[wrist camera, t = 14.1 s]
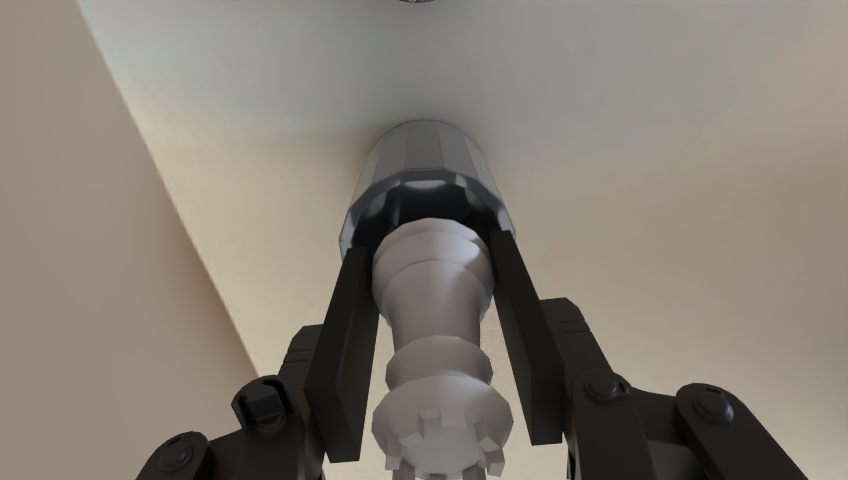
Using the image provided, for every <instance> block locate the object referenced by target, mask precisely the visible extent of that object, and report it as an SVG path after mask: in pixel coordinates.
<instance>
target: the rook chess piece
mask: <svg viewBox="0 0 848 480" xmlns="http://www.w3.org/2000/svg"><path fill="white" fill-rule="evenodd" d="M372 277H373V278H372V293H373V297H374V299H375V301H376V304H377V306H378V309H379V311H380V314H381V315H382V316H383V317H384V318H385V319H386V321H387V324H388V325H389V326H390V327H391V328H392V335H393V342H394V350H395V354H394V356H393V357H392V359H391V360H390V361H389V363H388V364H387V369H386V379H385V381H386V383H387V385H388V388H389V390H390V392H389V393H388V394H386V396H385V397H384V398H383V400H382V401H381V402H380V404H379V405H378V406H377V408H376V409H375V411H374V412H373V420H372V433H373V435H374V437H375V439H376V441H377V443H378V445H379V447H380V449H381V450H382V451H383V452H384V453H385V455H386V465H385V470H393V479H392V480H415V477H417V478H420V479H423V480H457V479H462V478H463V480H486V475H485V468H486V467H487V473H488V475H492V476H498V477H500V476H501V473H502V470H503V467H504V464H505V460H504V455H503V450H502V448H503V447H504V445H505V443H506V442H507V440H508V438H509V435H510V432H511V429H512V426H513V422H514V421H513V417H512V413H511V410H510V406H509V403H508V402H507V401H506V400H505V399H504V398H503V397H502V396H501V395H500V394H499V393H498V392H497V391H496V390H495V389H494V388H493V387H492V386H490V383H491V379H492V376H493V371H492V367H491V363H490V360H489V358H488V356H487V355H486V354H485V353H484V352H483V351H482V350H481V349H480V322H481V321H482V319H483V318H484V314H485V312H486V311H487V309H488V308H489V306H490V302H491V298H492V294H493V290H494V285H495V279H494V275H493V271H492V262H491V257H490V253H489V249H488V247H487V246H486V245H485V244H484V242H483V241H482V240H481V239H480V237H479V236H478V235H477V234H476V233H475V231H473V230H471V229H469V228H467V227H465V226H463V225H461V224H459V223H457V222H455V221H453V220H445V219H435V218H425V219H421V220H417V221H413V222H410V223H406V224H403V225H402V226H400V227H399V228H397V229H396V230H395V231H393V232H392V233H391V234H389V235H388V236H386V237H385V238H384V239H383V241H382V243H381V245H380V246H379V248H378V250H377V251H376V253H375V255H374V257H373V268H372Z"/></svg>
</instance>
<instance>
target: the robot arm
mask: <svg viewBox="0 0 848 480" xmlns="http://www.w3.org/2000/svg"><path fill="white" fill-rule="evenodd" d="M489 239H490V256H491V262H492V271H493V275H494V279H495V285H494V290H493V296H494V300H495V304H496V308H497V312H498V316H499V320H500V324H501V328H502V331H503V335H504V339H505V343H506V347H507V351H508V355H509V359H510V363H511V367H512V370H513V374H514V378H515V382H516V386H517V390H518V394H519V398H520V402H521V406H522V409H523V413H524V417H525V421H526V425H527V429H528V433H529V437H530V441H531V445H532V446H535V445H546V444H558V443H562V434H563V432H564V435H565V438H566V441H567V444H568V461H567V479H569V480H808V478H807V477H806V476H805V475H804V474H803V472H802V471H801V470H800V469H799V468H798V467H797V465H796V464H795V463H794V462H793V461H792V460H791V458H790V457H789V456H788V455H787V454H786V453H785V451H784V450H783V449H782V448H781V447H780V445H779V444H778V443H777V442H776V441H775V440H774V438H773V437H772V436H771V435H770V434H769V433H768V431H767V430H766V429H765V428H764V427H763V426H762V424H761V423H760V422H759V421H758V420H757V418H756V417H755V416H754V415H753V414H752V413H751V411H750V410H749V409H748V408H747V407H746V406H745V404H744V403H742V402H741V401H740V400H739V399H738V398H737V397H736V396H734V395H733V394H731V393H729V392H728V391H726V390H724V389H722V388H720V387H716V386H713V385H709V384H704V383H692V384H688V385H685V386H683V387H681V388H680V389H679V390H678V391H677V393H676V397H675V396H669V395H662V394H656V393H650V392H646V391H642V390H639V389H636V388H634V387H632V386H631V385H630V383H629V382H627V381H626V380H625V379H624V378H623V377H622V376H620V375H618V374H616V373H614V372H613V370H612V369H611V367H610V365H609V364H608V362H607V360H606V358H605V356H604V354H603V352H602V351H601V349H600V347H599V345H598V343H597V341H596V339H595V338H594V336H593V334H592V332H590V328H589V326H588V325H587V323H586V322H585V319H584V317H583V315H582V313H581V311H580V310H579V308H578V307H577V306H576V305H575V304H573V303H572V302H571V301H570V300H568V299H567V298H566V297H564V298H555V299H545V300H539V298H538V296H537V293H536V291H535V288H534V286H533V284H532V281H531V279H530V276H529V274H528V271H527V269H526V267H525V264H524V262H523V259H522V257H521V255H520V252H519V250H518V247H517V245H516V243H515V240H514V238H513V235H512V233H511V230H503V231H494V232H489ZM372 278H373V277H372V264H371V259H370V255H369V250H368V246H364V247H355V248H347V251H346V254H345V257H344V260H343V263H342V267H341V270H340V273H339V276H338V279H337V282H336V286H335V289H334V292H333V295H332V298H331V301H330V305H329V308H328V311H327V314H326V317H325V320H324V324H319V325H310V326H303V327H302V328H301V329H300V330H299V332H298V333H297V334H296V335H295V336H294V337H293V338H292V340H291V343H290V346H289V348H288V351H287V354H286V356H285V358H284V361H283V364H282V366H281V368H280V371H279V373H278V375H268V376H263V377H260V378H257V379H255V380H253V381H251V382H250V383H248V384H247V385H245V386H244V387H242V389H241V390H240V391H239V392H238V393H237V394H236V395H235V397H234V399H233V401H232V403H231V406H232V408H233V410H234V412H235V414H236V416H237V418H238V420H239V422H240V424H241V426H242V429H240V430H237V431H235V432H233V433H230V434H228V435H225V436H222V437H219V438H217V439H214V440H211V441H208V440H207V438H206V437H205V436H204V435H203V434H202V433H200V432H193V431H190V432H186V433H181V434H179V435H177V436H175V437H173V438H171V439H169V440H167V441H166V442H165V443H163V444H162V445H161V446H160V447H158V448H157V449H156V450H155V452H154V453H153V454H152V455H151V457H150V458H149V459H148V460H147V462H146V464H145V465H144V467H143V468H142V470H141V472H140V473H139V475H138V476H137V478H136V480H326V479H325V475H324V471H323V469H322V465H323V460H324V455H325V451H326V453H327V456H328V458H329V461H330V463H340V462H352V461H359V458H360V451H361V444H362V437H363V429H364V422H365V415H366V408H367V400H368V393H369V386H370V379H371V372H372V364H373V357H374V350H375V343H376V335H377V328H378V321H379V314H380V311H379V309H378V306H377V304H376V301H375V299H374V297H373V293H372Z"/></svg>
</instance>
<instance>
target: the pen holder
mask: <svg viewBox="0 0 848 480" xmlns="http://www.w3.org/2000/svg"><path fill="white" fill-rule="evenodd" d="M425 218H435V219H445V220H453V221H455V222H457V223H459V224H461V225H463V226H465V227H467V228H469V229H471V230H473V231H475V233H476V234H477V235H478V236H479V237H480V239H481V240H482V241H483V242H484V244H485V245H486V246H487V247H488V249H489V253H490V239H489V232H494V231H503V230H511V233H512V235H513V238H514V240H515V238H516V233H515V229H514V227H513V224H512V222H511V219H510V217H509V214H508V212H507V209H506V207H505V204H504V202H503V200H502V198H501V195H500V193H499V191H498V189H497V187H496V184H495V182H494V180H493V178H492V176H491V173H490V171H489V169H488V167H487V165H486V162H485V160H484V158H483V156H482V154H481V151H480V150H479V148H478V147H477V146H476V145H475V143H474V142H473V141H472V140H471V139H470V138H469V137H468V136H467V135H466V134H465V133H464V132H462V131H461V130H459V129H458V128H456V127H454V126H452V125H449V124H447V123H444V122H440V121H434V120H416V121H411V122H407V123H404V124H401V125H399V126H397V127H395V128H393V129H391V130H390V131H388V132H387V133H386V134H384V135H383V136H382V137H381V138H380V139H379V140H378V141H377V142H376V144H375V145H374V146H373V148H372V149H371V151H370V152H369V154H368V156H367V158H366V161H365V164H364V167H363V170H362V172H361V175H360V178H359V181H358V183H357V186H356V189H355V192H354V194H353V197H352V200H351V203H350V206H349V208H348V211H347V214H346V218H345V221H344V224H343V227H342V231H341V234H340V237H339V245H340V251H341V258H342V263H343V260H344V257H345V254H346V251H347V248H355V247H364V246H368V250H369V255H370V259H371V264H372V268H373V257H374V255H375V253H376V251H377V250H378V248H379V246H380V245H381V243H382V241H383V239H384V238H385V237H386V236H388V235H389V234H391V233H392V232H393V231H395V230H396V229H397V228H399V227H400V226H402V225H403V224H406V223H410V222H413V221H417V220H421V219H425ZM490 257H491V256H490ZM492 295H493V294H492Z"/></svg>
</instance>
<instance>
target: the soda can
mask: <svg viewBox="0 0 848 480" xmlns="http://www.w3.org/2000/svg"><path fill="white" fill-rule="evenodd" d="M400 1H405V2H417V3H419V2H429V1H433V0H400Z"/></svg>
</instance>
